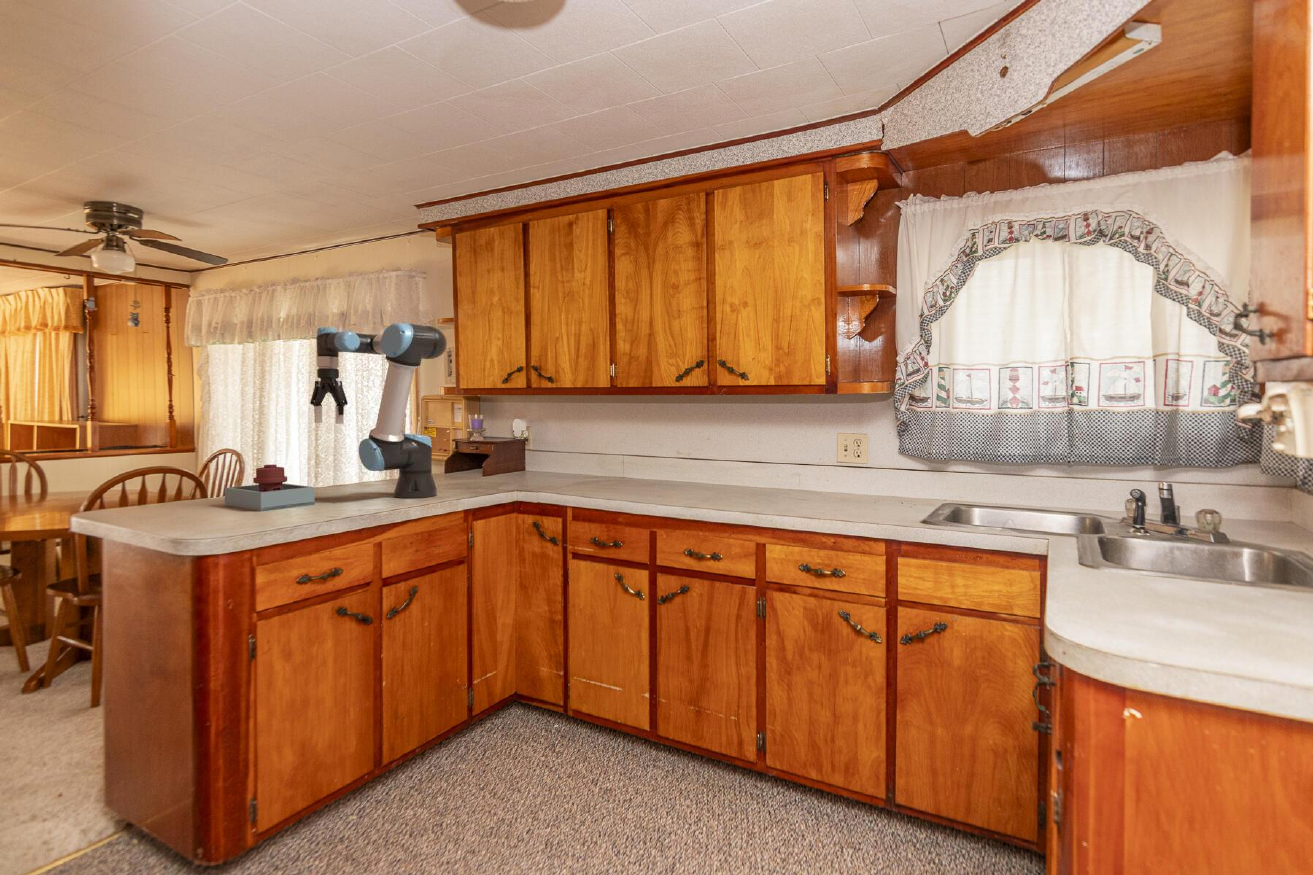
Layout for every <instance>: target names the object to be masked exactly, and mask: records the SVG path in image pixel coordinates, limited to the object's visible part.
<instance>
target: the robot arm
mask: <svg viewBox="0 0 1313 875" xmlns="http://www.w3.org/2000/svg"><path fill="white" fill-rule="evenodd" d="M315 339H316V367H317V369H316V370H317V372H316V376H317V379H320V380H314V387H313V392H312V395H311V399H310V401H309V404H310V405H312V406H313V408H314V409H313V414H314V424H322V423H323V405H322V403H323V401H324V399H325V397H326V394H328V393H329V394H331V397H332V398H333V400H334V402H335V424H336V425H344V414H345V411H344V410H345V407H346V406H347V405H348V404H349V403H348V400H347V396H346V393H345V391H344V390H345V389H344V388H343V381H342V380H337V379H339V378H340V370H339V369H338V368H339V364H340V361H339V353H353V354H354V353H356V354H366V355H367V354H368V355H379V356H383V355H385V360H386V362H387V363H388V367H387V372H386V375H385V380H384V384H383V389H382V394H381V400H380V403H379V409H378V414H377V419H376V424H375V427H374V428H372V429H371V430H369V434H368V437H367V438H364V439H362V440H361V441H360V443H359V445H358V457H359V459H360V462H361V464H362V466H363V467H364V468H365V469H366V470H368V471H371V472H383V471H392V470H393V471H395V470H398V477H397V480H396V481H397V482H396V484H395V488H394V490H393V491H394V495H393V496H394V497H395V498H401V499H416V498H418V499H419V498H420V499H421V498H430V497H435V496H437V495H438V489H437V487H436V483H435V480H434V477H433V472H432V471H433V470H432V469H433V467H432V466H433V464H432V463H433V461H432V460H433V458H432V456H433V455H432V454H433V450H432V449H433V446H432V438H431V437H430V436H429V435H422V434H415V433H414V434H413V433H402V428H403V423H404V420H405V415H406V409H407V405H408V401H409V397H410V392H411V388H412V383H413V378H414V374H415V370H416V369H418V368H420V367H421V363H422V360H433V359H437V358H439V357H441V356H442V355H443V354H444V353H445V351H446V349H447V345H448V344H447V342H448V341H447V337H446V336H445V334H444V333H443V332H442V330H440V329H438V328H437V327H434V326H431V325H422V324H421V325H420V324H414V323H407V322H394V323H391V324H390V325H388V326H387V327H386V328H385V329H384V330H383V332H382V334H370V333H369V334H368V333H359V332H358V333H357V332H353V331H347V330H342V331H339V330H338V329H337V328H336V327H329V326H328V327H326V326H324V327H323V326H321V327H318V328H317V330H316V338H315Z"/></svg>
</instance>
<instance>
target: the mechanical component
mask: <svg viewBox="0 0 1313 875" xmlns="http://www.w3.org/2000/svg"><path fill="white" fill-rule="evenodd" d="M252 479H253V483H254V484H256V485H259V492H268V491H278V490H282V483H286V482H288V476H286V475H285V467H283V466H277V464H263V467H257V468H255V477H253V478H252Z"/></svg>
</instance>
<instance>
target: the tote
mask: <svg viewBox="0 0 1313 875" xmlns="http://www.w3.org/2000/svg"><path fill="white" fill-rule="evenodd" d="M313 505H315V486H308V485H300V484H292V483H285V482H283V483H282V490H278V491H268V492H259V484H251V485H250V484H249V485H239V486H230V487H229V486H227V487H224V506H227V507H231V508H237V509H238V508H239V509H244V510H251V511H255V512H266V511H274V510H284V509H290V508H291V509H292V508H297V507H298V508H299V507H306V506H307V507H308V506H313Z"/></svg>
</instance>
